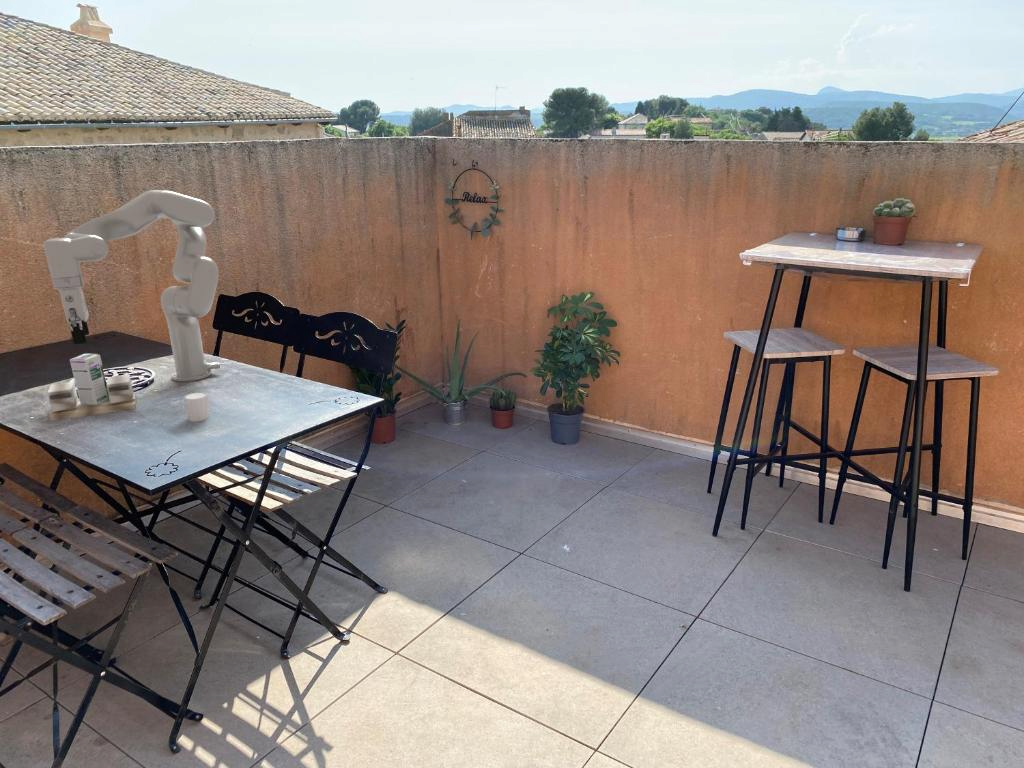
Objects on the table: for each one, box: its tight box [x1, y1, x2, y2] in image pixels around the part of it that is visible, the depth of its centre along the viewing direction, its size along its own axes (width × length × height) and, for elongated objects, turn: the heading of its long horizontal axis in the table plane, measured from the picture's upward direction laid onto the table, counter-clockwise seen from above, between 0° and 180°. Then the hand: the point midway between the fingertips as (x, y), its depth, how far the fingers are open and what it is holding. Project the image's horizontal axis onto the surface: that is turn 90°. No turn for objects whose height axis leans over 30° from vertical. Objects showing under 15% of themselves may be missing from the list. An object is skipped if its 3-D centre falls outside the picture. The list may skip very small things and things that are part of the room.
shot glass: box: [182, 391, 211, 422], centre depth 199 cm, size 7×7×7 cm
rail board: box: [47, 374, 137, 422], centre depth 207 cm, size 22×12×8 cm, turn 116°
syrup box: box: [69, 353, 109, 405], centre depth 205 cm, size 6×6×14 cm
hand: (81, 339), depth 201 cm, fingers open, 9 cm apart
